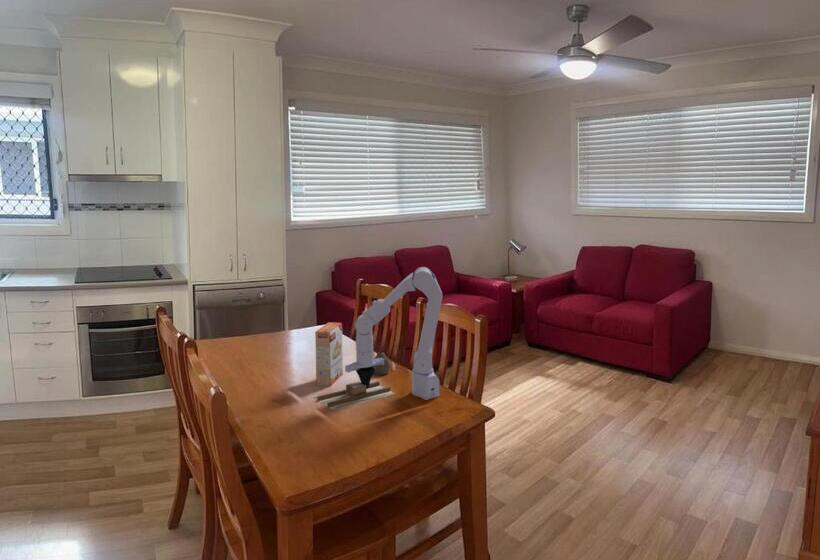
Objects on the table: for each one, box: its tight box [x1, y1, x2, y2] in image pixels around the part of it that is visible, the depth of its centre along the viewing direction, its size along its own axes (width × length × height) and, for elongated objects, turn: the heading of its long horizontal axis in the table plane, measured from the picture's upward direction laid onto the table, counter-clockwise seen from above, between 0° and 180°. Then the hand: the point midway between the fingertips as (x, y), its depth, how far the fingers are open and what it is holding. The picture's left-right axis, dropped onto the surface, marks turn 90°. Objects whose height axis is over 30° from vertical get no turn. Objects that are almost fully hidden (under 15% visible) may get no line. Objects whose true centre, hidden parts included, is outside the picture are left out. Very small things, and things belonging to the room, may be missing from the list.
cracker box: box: [314, 321, 344, 387], centre depth 209 cm, size 14×6×21 cm, turn 168°
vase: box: [373, 351, 391, 376], centre depth 217 cm, size 7×7×9 cm
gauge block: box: [345, 381, 366, 397], centre depth 195 cm, size 5×5×4 cm
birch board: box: [313, 381, 396, 411], centre depth 195 cm, size 14×24×2 cm, turn 126°
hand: (365, 388), depth 197 cm, fingers closed
